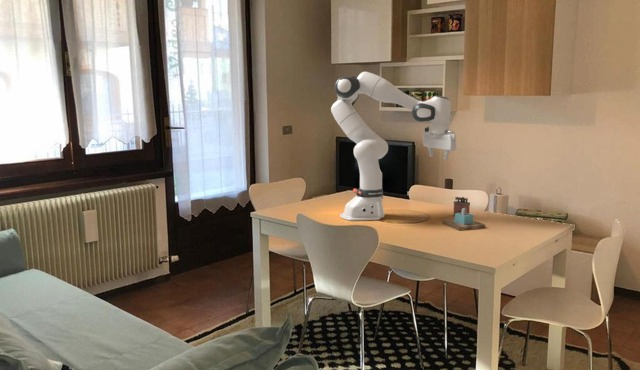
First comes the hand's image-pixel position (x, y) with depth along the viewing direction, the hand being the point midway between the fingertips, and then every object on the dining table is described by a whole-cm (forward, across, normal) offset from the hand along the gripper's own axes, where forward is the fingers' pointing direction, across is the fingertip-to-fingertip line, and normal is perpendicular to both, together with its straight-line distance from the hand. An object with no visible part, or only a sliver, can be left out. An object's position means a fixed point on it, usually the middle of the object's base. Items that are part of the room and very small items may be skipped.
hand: (438, 157), depth 276 cm
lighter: (+30, -7, -11) cm, 33 cm away
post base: (+29, -20, +1) cm, 36 cm away
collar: (+28, -20, +1) cm, 35 cm away
